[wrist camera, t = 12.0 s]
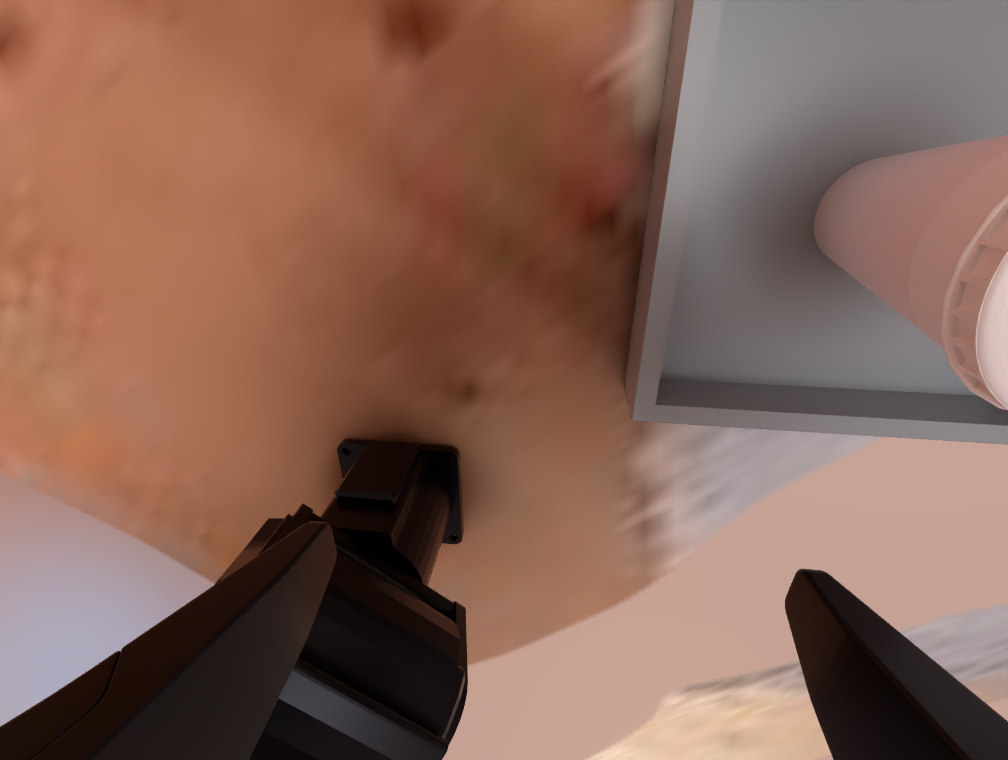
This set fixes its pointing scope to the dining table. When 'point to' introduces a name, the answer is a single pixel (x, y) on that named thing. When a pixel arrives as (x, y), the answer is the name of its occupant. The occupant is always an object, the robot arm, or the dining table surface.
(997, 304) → the smoothie
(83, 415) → the dining table surface
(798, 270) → the gray square tray
